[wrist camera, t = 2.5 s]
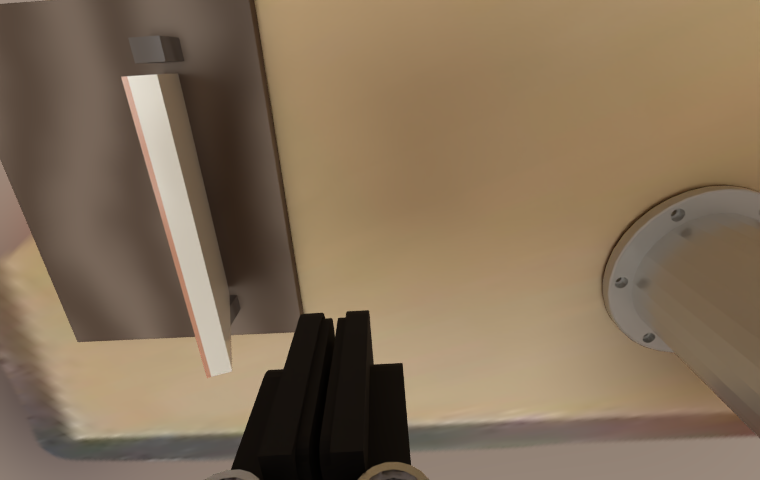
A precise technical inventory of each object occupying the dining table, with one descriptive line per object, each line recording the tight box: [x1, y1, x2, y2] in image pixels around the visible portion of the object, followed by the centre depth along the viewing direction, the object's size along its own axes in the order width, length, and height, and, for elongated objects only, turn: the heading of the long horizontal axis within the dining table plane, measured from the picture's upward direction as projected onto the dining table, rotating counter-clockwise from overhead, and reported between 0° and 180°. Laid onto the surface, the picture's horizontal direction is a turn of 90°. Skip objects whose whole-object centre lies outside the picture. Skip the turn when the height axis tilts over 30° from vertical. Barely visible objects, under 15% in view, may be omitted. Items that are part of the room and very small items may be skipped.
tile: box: [121, 73, 232, 378], centre depth 22 cm, size 9×14×1 cm
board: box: [0, 0, 303, 342], centre depth 26 cm, size 17×22×3 cm
